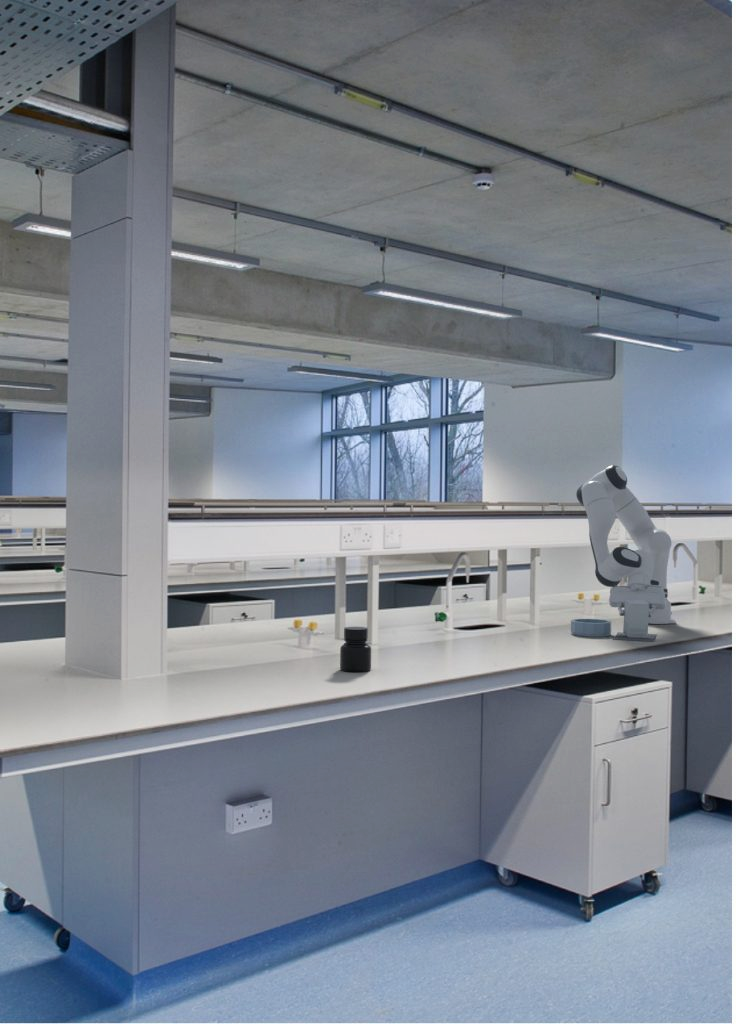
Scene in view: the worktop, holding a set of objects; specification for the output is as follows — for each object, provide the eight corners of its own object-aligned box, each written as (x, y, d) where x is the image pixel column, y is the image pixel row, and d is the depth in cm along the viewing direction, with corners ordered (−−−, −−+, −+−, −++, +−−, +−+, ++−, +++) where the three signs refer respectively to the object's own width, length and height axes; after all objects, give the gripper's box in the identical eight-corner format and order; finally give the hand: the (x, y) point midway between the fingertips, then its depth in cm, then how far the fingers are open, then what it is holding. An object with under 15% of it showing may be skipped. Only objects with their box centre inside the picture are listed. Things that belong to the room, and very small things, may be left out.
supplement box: (648, 638, 339) (649, 604, 337) (627, 637, 339) (629, 603, 337) (642, 632, 346) (644, 599, 344) (622, 632, 346) (624, 599, 345)
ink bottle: (373, 667, 271) (373, 626, 271) (371, 673, 263) (371, 630, 263) (340, 667, 272) (340, 625, 272) (337, 672, 263) (337, 629, 263)
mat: (618, 632, 355) (618, 632, 355) (656, 634, 350) (656, 634, 350) (612, 639, 336) (612, 638, 336) (653, 641, 331) (653, 641, 331)
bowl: (574, 630, 359) (574, 617, 359) (612, 633, 354) (612, 619, 354) (568, 635, 345) (568, 622, 345) (608, 637, 340) (608, 624, 340)
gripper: (610, 580, 353) (605, 608, 344) (666, 582, 345) (663, 611, 336) (611, 591, 357) (607, 619, 348) (667, 593, 349) (664, 622, 340)
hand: (635, 615), depth 342 cm, fingers closed on supplement box, 8 cm apart
